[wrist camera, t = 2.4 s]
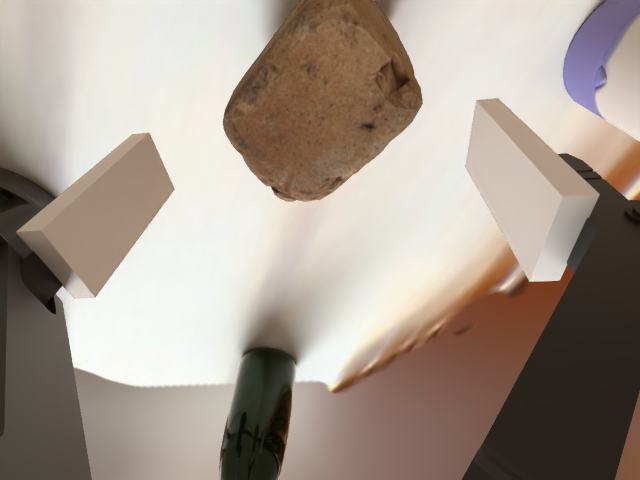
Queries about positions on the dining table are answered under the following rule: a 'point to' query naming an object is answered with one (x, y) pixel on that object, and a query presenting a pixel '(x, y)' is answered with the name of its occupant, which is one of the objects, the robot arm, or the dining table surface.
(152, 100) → the dining table surface
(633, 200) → the robot arm
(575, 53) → the container
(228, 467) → the beer bottle
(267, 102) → the block
